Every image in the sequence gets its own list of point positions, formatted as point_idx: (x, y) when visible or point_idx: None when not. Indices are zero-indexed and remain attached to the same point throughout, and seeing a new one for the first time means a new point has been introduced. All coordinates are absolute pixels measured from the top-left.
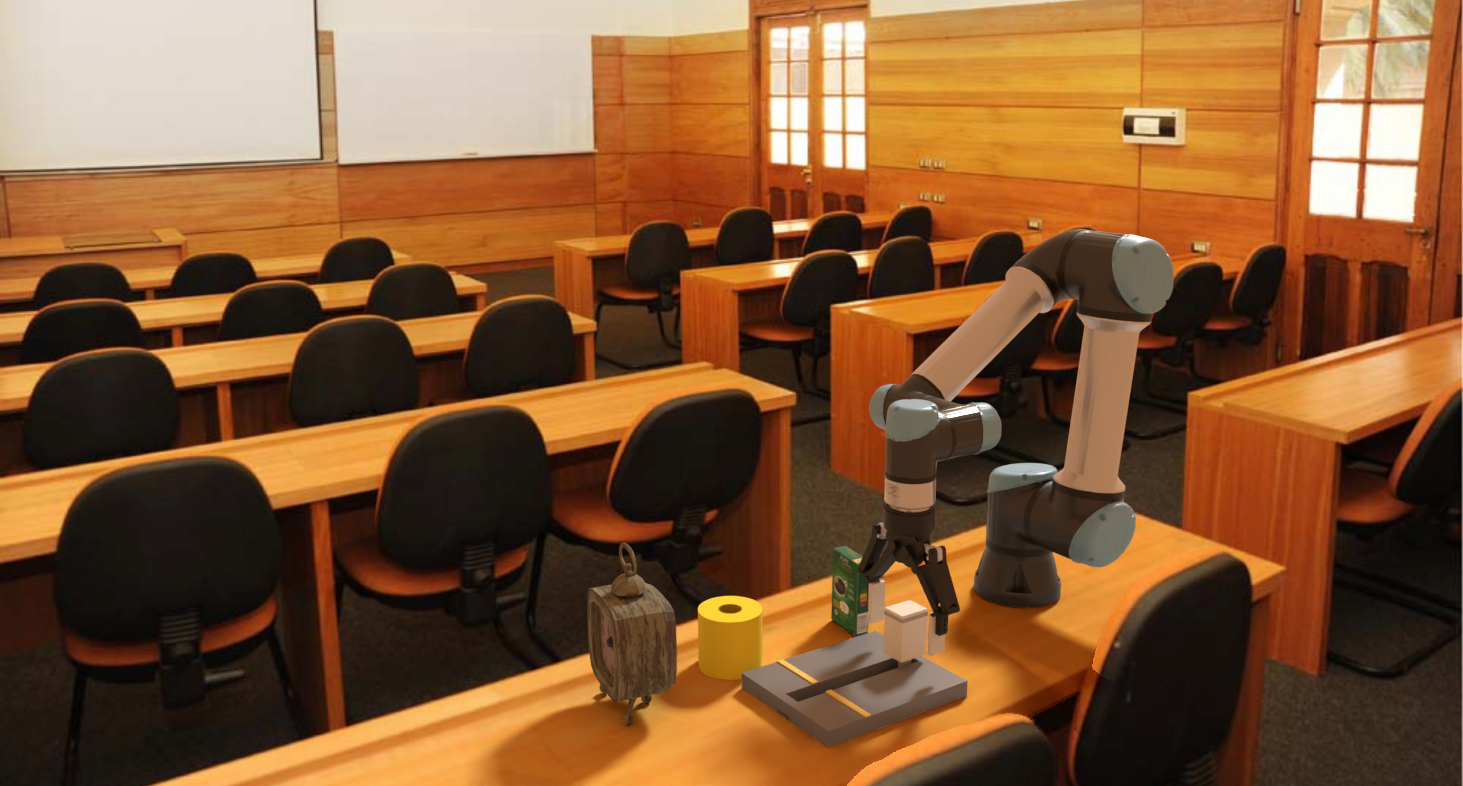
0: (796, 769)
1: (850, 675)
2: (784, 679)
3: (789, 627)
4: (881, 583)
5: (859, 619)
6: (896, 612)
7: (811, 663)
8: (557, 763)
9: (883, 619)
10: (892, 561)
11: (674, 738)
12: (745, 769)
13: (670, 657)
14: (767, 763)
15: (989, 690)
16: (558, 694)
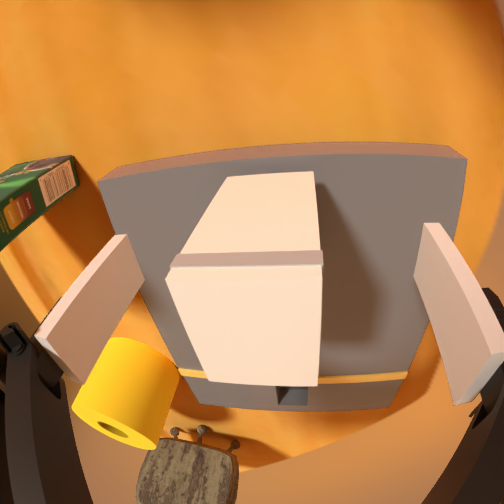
0: (389, 411)
1: None
2: (239, 391)
3: (43, 257)
4: (59, 349)
5: (53, 195)
6: (271, 382)
7: None
8: (263, 460)
9: (127, 238)
10: (61, 493)
11: (273, 436)
12: (355, 428)
13: (234, 488)
14: (361, 420)
15: (455, 80)
16: (169, 434)
